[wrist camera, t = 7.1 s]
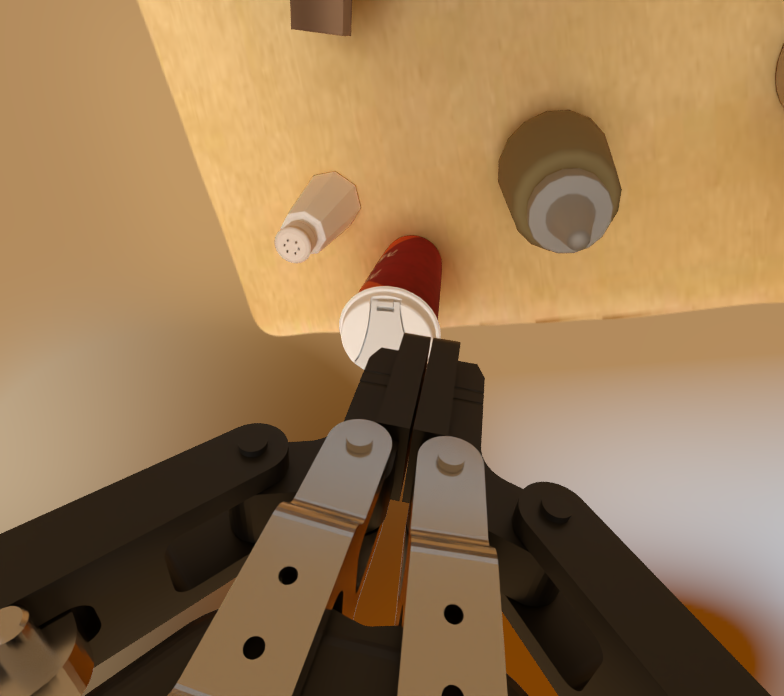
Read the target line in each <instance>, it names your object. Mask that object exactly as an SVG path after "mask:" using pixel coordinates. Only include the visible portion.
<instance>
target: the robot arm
mask: <svg viewBox="0 0 784 696" xmlns="http://www.w3.org/2000/svg"><path fill="white" fill-rule="evenodd" d="M776 87H777V93H778V96H779V99H780V101H781V104H782V105H783V106H784V46H783V49H782V52H781V55H780V57H779V60H778V66H777V72H776ZM430 343H431V337H427V336H422V335H416V334H410V333H404V334H403V338H402V341H401V344H400V347H399V350H394V349H388V348H382V347H381V348H380V349H379V350H378V351H376V352H375V353H374V354H373V355H371V356H370V357H369V359H368V362H367V364H366V367H365V369H364V373H363V374H362V377H361V379H360V383H359V385H358V387H357V390H356V392H355V395H354V397H353V400H352V402H351V405H350V407H349V410H348V412H347V415H346V417H345V420H344V422H342V423H340V424H338V425H336V426H335V427H334V428H333V429H332V430H331V431H330V433H329V434H328V436H327V437H325V438H322V439H318V440H314V441H302V442H288V440H287V438H286V436H285V434H284V433H283V432H282V431H281V430H280V429H278V428H276V427H274V426H271V425H268V424H261V423H254V424H247V425H243V426H241V427H238V428H236V429H233V430H231V431H229V432H227V433H224V434H222V435H220V436H218V437H216V438H213V439H212V440H209V441H207V442H205V443H202V444H200V445H198V446H195V447H193V448H191V449H189V450H187V451H184V452H182V453H180V454H178V455H176V456H173V457H171V458H169V459H167V460H164V461H162V462H160V463H158V464H155V465H153V466H151V467H149V468H147V469H144V470H142V471H140V472H138V473H135V474H133V475H131V476H129V477H126V478H125V479H122V480H120V481H118V482H115V483H113V484H111V485H109V486H107V487H104V488H102V489H100V490H98V491H95V492H93V493H91V494H88V495H86V496H84V497H82V498H80V499H77V500H75V501H73V502H71V503H68V504H66V505H64V506H62V507H59V508H57V509H55V510H53V511H51V512H48V513H46V514H44V515H42V516H39V517H37V518H35V519H33V520H31V521H28V522H26V523H24V524H22V525H19V526H17V527H15V528H13V529H11V530H8V531H6V532H4V533H1V534H0V696H82V694H83V693H84V691H85V689H86V687H87V686H88V684H89V682H90V679H91V676H92V673H93V668H94V667H96V666H97V665H99V664H100V663H102V662H104V661H105V660H107V659H108V658H110V657H111V656H113V655H115V654H116V653H118V652H119V651H121V650H122V649H124V648H125V647H127V646H129V645H130V644H132V643H133V642H135V641H137V640H138V639H140V638H141V637H143V636H144V635H146V634H148V633H149V632H151V631H152V630H154V629H155V628H157V627H159V626H160V625H162V624H163V623H165V622H166V621H168V620H169V619H171V618H173V617H174V616H176V615H177V614H179V613H181V612H182V611H184V610H185V609H187V608H188V607H190V606H192V605H193V604H194V603H196V602H198V601H199V600H201V599H203V598H204V597H206V596H207V595H209V594H210V593H212V592H214V591H215V590H217V589H218V588H220V587H221V586H223V585H225V584H226V583H228V582H229V581H231V580H232V579H234V578H236V577H237V578H236V579H235V581H234V583H233V585H232V587H231V588H230V590H229V592H228V594H227V596H226V597H225V599H224V601H223V603H222V604H221V606H220V608H219V609H217V610H215V611H212V612H210V613H208V614H205V615H203V616H201V617H199V618H198V619H196V620H194V621H192V622H190V623H189V624H187V625H186V626H184V627H183V628H181V629H180V630H178V631H177V632H175V633H174V634H173V635H171V636H170V637H168V638H167V639H165V640H164V641H162V642H161V643H160V644H158V645H157V646H155V647H154V648H152V649H151V650H150V651H148V652H147V653H145V654H144V655H142V656H141V657H139V658H138V659H137V660H135V661H134V662H132V663H131V664H129V665H128V666H127V667H125V668H124V669H122V670H121V671H119V672H118V673H116V674H115V675H114V676H112V677H111V678H109V679H108V680H107V681H105V682H104V683H102V684H101V685H99V686H98V687H96V688H95V689H93V690H92V691H91V692H89V693H88V694H86V695H85V696H528V694H527V693H526V692H525V691H524V690H523V689H522V688H521V687H520V686H519V685H518V684H517V682H515V681H514V680H513V679H512V678H511V677H510V676H509V675H508V674H507V673H506V667H505V652H504V638H503V624H502V612H503V613H504V615H505V616H506V618H507V619H508V621H509V622H510V624H511V625H512V627H513V628H514V630H515V631H516V633H517V634H518V636H519V637H520V639H521V640H522V642H523V643H524V645H525V646H526V648H527V649H528V651H529V652H530V654H531V655H532V657H533V658H534V660H535V661H536V663H537V664H538V666H539V667H540V669H541V670H542V672H543V673H544V675H545V676H546V678H547V679H548V681H549V682H550V684H551V685H552V687H553V688H554V690H555V691H556V693H557V694H558V695H559V696H771V695H770V694H769V693H768V692H767V691H766V690H765V689H764V688H763V687H762V686H761V685H760V684H759V683H758V682H757V681H756V680H755V679H754V678H753V677H752V676H751V674H750V673H749V672H747V670H746V669H745V668H744V667H743V666H742V665H741V664H740V663H739V662H738V661H737V660H736V659H735V658H734V657H733V656H732V655H731V654H730V653H729V652H728V651H727V650H726V648H724V646H722V644H721V643H720V642H719V641H718V640H717V639H716V638H715V637H714V636H713V635H712V634H711V633H710V632H709V631H708V630H707V629H706V628H705V627H704V626H703V625H702V624H701V623H700V621H699V620H698V619H697V618H695V616H694V615H693V614H692V613H691V612H690V611H689V610H688V609H687V608H686V607H685V606H684V605H683V604H682V603H681V602H680V601H679V600H678V599H677V598H676V597H675V596H674V595H673V593H672V592H670V590H669V589H668V588H667V587H666V586H665V585H664V584H663V583H662V582H661V581H660V580H659V579H658V578H657V577H656V576H655V575H654V574H653V573H652V572H651V571H650V570H649V569H648V568H647V567H646V566H645V564H644V563H643V562H642V561H641V560H640V559H639V558H638V557H637V556H636V555H635V554H634V553H633V552H632V551H631V550H630V549H629V548H628V547H627V546H626V545H625V544H624V543H623V542H622V541H621V540H620V538H619V537H618V536H617V535H616V534H615V533H614V532H613V531H612V530H611V529H610V528H609V527H608V526H607V525H606V524H605V523H604V522H603V521H602V520H601V519H600V518H599V517H598V516H597V515H596V514H595V513H594V512H593V511H592V509H591V508H590V507H589V506H588V505H587V504H586V503H585V502H584V501H583V500H582V499H581V498H580V497H579V496H578V495H576V494H575V493H574V492H572V491H571V490H569V489H568V488H566V487H563V486H561V485H558V484H555V483H550V482H536V483H533V484H530V485H528V486H527V487H526V488H524V489H522V488H520V487H518V486H516V485H514V484H512V483H509V482H507V481H506V480H504V479H502V478H500V477H499V476H498V475H496V474H495V473H494V472H493V471H491V469H490V468H489V467H488V466H487V464H486V463H485V461H484V459H483V457H482V453H481V435H482V417H483V398H484V395H483V394H484V380H485V378H484V376H483V374H482V372H481V371H480V369H479V367H478V365H477V364H472V363H467V362H461V361H458V356H459V349H460V342H456V341H451V340H445V339H439V338H433V341H432V346H431V351H430V355H429V349H430ZM428 355H429V360H428ZM427 362H428V364H427ZM426 368H427V369H426ZM408 459H409V460H408ZM407 463H408V467H407ZM406 468H407V473H406V480H405V487H404V493H403V500H402V502H406V503H409V510H408V516H407V522H406V528H405V534H404V542H403V552H402V562H401V572H400V581H399V591H398V600H397V609H396V618H395V626H375V627H370V626H364V625H361V624H359V623H357V622H356V621H354V620H353V618H354V614H355V610H356V606H357V603H358V599H359V596H360V593H361V590H362V587H363V584H364V581H365V578H366V575H367V572H368V569H369V566H370V563H371V560H372V557H373V554H374V551H375V548H376V545H377V542H378V539H379V536H380V533H381V529H382V525H383V521H384V520H385V517H386V514H387V510H388V506H389V502H390V499H392V500H396V501H399V500H400V496H401V491H402V486H403V482H404V477H405V472H406Z"/></svg>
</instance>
